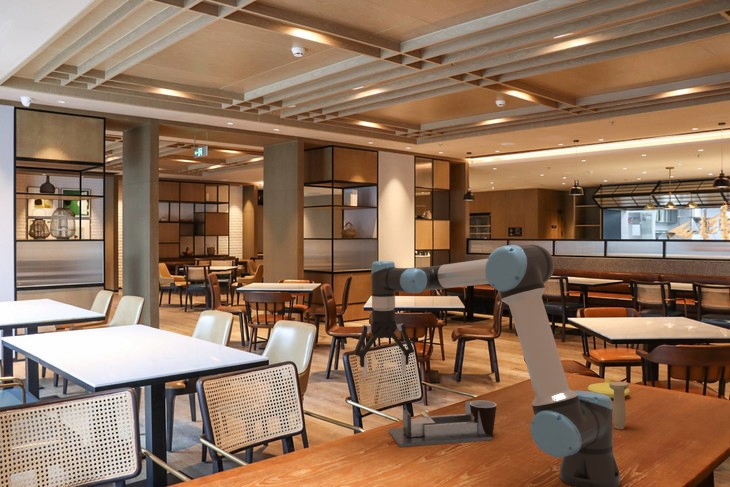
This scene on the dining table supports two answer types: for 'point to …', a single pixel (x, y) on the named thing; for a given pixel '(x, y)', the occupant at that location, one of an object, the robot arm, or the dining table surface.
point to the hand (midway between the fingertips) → (384, 376)
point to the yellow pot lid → (604, 388)
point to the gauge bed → (423, 441)
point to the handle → (619, 403)
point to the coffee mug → (484, 414)
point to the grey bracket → (415, 424)
